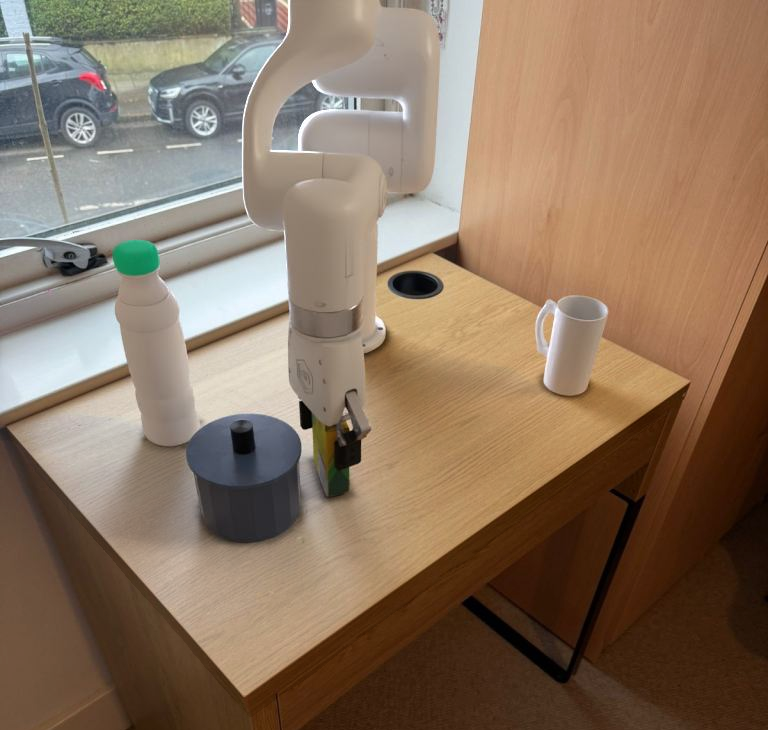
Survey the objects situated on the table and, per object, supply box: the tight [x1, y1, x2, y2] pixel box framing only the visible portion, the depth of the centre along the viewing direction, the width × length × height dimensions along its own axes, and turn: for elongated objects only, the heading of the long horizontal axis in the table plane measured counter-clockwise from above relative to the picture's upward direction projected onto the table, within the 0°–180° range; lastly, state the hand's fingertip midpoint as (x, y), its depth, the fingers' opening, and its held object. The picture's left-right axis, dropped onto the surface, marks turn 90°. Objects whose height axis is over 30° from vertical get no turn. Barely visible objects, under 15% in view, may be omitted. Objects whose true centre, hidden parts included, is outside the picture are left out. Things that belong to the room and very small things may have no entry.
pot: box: [192, 460, 302, 544], centre depth 86 cm, size 11×11×8 cm
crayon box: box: [311, 413, 351, 498], centre depth 89 cm, size 7×3×12 cm, turn 16°
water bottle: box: [112, 239, 201, 447], centre depth 90 cm, size 7×7×25 cm
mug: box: [534, 294, 609, 397], centre depth 106 cm, size 10×7×12 cm, turn 43°
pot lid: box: [185, 413, 302, 489], centre depth 82 cm, size 12×12×4 cm
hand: (330, 444), depth 89 cm, fingers closed on crayon box, 7 cm apart
